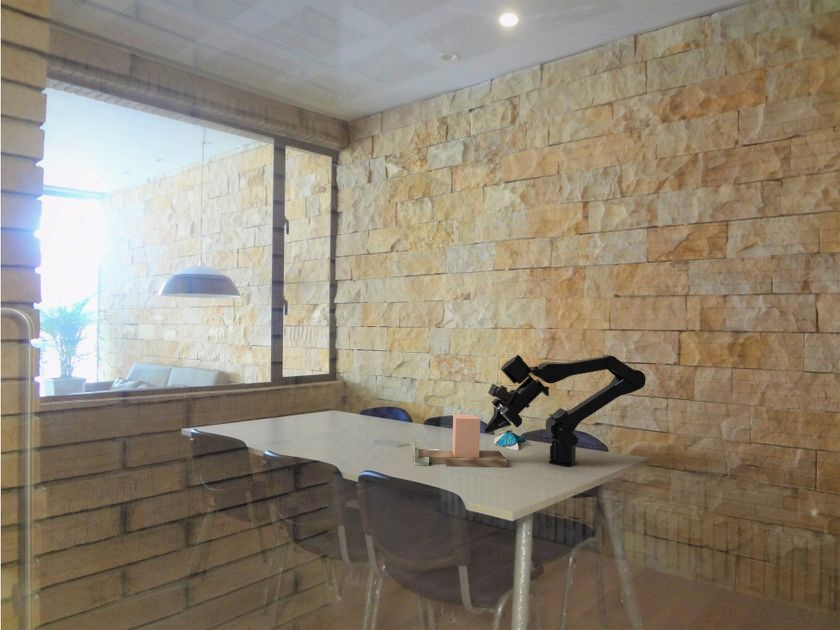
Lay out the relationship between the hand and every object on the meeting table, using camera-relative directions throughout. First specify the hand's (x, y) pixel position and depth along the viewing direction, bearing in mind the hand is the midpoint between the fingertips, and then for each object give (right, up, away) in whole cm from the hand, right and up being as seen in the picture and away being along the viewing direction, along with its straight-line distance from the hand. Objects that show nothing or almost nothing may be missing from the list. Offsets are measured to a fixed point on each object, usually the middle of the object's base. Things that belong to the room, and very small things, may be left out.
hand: (485, 431), depth 168 cm
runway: (-8, -8, 0) cm, 12 cm away
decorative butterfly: (+11, -10, +23) cm, 27 cm away
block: (-6, -7, 0) cm, 9 cm away
